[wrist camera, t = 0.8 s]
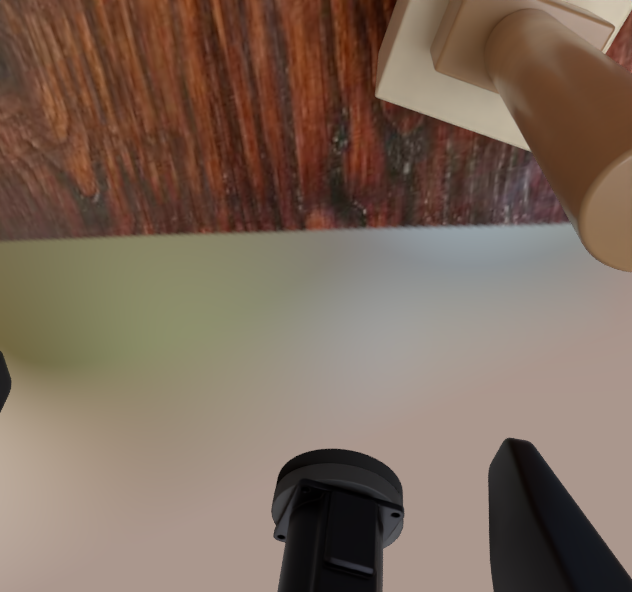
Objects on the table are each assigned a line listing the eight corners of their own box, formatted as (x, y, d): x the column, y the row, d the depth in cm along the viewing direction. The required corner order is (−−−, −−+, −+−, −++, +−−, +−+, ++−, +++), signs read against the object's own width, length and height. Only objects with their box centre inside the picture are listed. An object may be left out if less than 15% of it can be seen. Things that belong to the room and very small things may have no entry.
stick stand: (512, 103, 19) (545, 157, 15) (377, 54, 18) (373, 97, 14) (598, -61, 16) (667, -48, 12) (439, -123, 16) (456, -131, 12)
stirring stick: (544, 93, 14) (728, 326, 6) (428, 51, 14) (473, 242, 6) (590, 11, 13) (884, 174, 5) (464, -37, 12) (576, 60, 5)
